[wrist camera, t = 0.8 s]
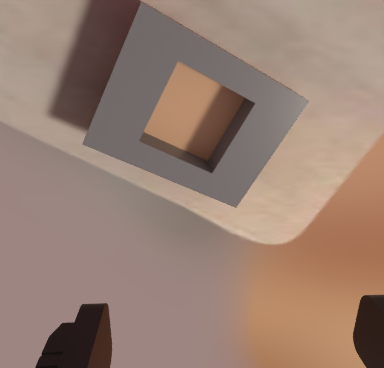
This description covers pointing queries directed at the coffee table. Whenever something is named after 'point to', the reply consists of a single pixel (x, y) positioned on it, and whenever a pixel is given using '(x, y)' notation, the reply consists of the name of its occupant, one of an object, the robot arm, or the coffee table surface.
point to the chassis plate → (190, 110)
